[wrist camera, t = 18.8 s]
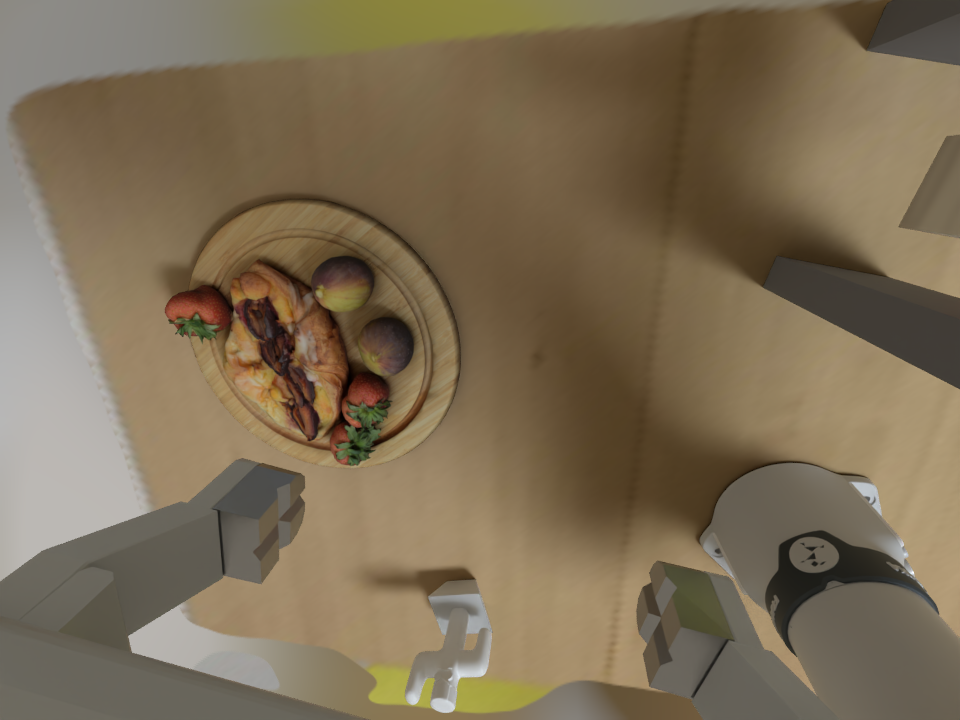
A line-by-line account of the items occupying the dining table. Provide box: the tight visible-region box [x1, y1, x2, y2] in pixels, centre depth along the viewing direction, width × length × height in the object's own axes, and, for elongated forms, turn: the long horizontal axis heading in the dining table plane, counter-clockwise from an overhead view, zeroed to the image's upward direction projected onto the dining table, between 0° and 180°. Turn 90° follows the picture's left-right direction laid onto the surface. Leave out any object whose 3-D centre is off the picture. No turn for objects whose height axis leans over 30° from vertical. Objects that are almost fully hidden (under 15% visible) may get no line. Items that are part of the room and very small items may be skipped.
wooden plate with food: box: [165, 199, 461, 468], centre depth 48 cm, size 32×32×8 cm
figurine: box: [405, 579, 493, 713], centre depth 56 cm, size 7×9×15 cm
